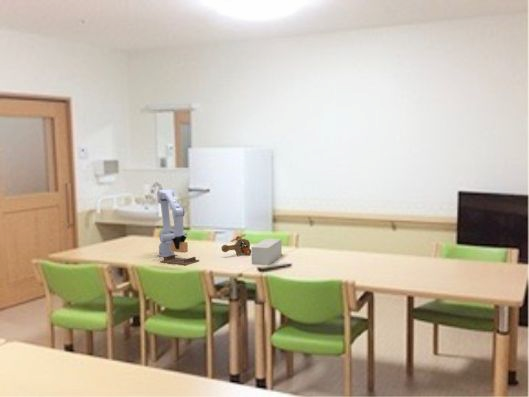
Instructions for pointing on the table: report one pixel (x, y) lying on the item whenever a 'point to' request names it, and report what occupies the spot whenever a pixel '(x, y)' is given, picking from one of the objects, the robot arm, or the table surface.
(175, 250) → the tall tan cuboid
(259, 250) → the grey rectangular brick
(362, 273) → the table surface
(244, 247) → the brown lumpy shape
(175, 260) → the walnut cradle
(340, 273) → the table surface
